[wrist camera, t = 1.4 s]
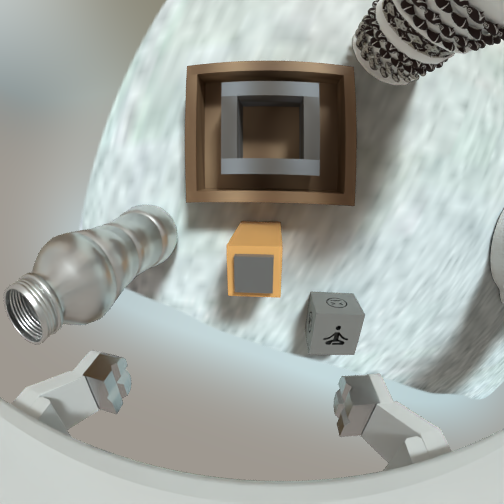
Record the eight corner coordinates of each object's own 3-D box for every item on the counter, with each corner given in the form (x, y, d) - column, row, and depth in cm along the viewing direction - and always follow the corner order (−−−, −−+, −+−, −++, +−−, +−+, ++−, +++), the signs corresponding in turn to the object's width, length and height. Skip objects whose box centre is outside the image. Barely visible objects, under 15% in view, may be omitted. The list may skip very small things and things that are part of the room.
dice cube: (305, 328, 32) (308, 354, 27) (310, 291, 31) (316, 313, 26) (345, 330, 32) (354, 354, 27) (353, 293, 30) (365, 314, 26)
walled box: (343, 79, 23) (357, 62, 18) (344, 200, 27) (358, 208, 22) (198, 77, 25) (182, 61, 20) (197, 197, 28) (181, 204, 23)
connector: (280, 222, 29) (282, 249, 19) (279, 259, 30) (280, 301, 21) (241, 221, 29) (225, 247, 20) (241, 258, 30) (226, 299, 21)
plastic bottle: (178, 264, 31) (74, 383, 12) (126, 250, 31) (2, 338, 12) (187, 208, 29) (57, 282, 10) (132, 196, 29) (-16, 246, 10)
